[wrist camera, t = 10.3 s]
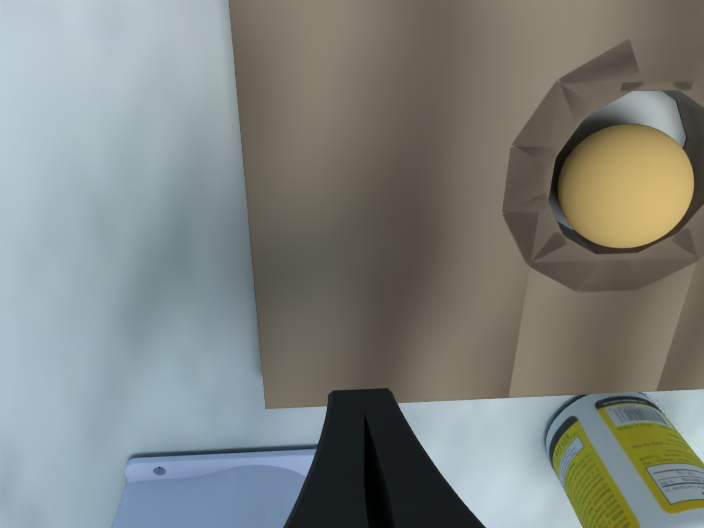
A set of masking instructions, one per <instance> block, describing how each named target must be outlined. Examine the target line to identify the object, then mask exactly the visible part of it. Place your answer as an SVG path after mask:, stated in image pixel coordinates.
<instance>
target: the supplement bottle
mask: <svg viewBox="0 0 704 528" xmlns="http://www.w3.org/2000/svg"><path fill="white" fill-rule="evenodd" d="M546 450H547V455H548V457H549V460H550V462H551V465H552V467H553V469H554V471H555V473H556V475H557V477H558V479H559V481H560V483H561V485H562V487H563V489H564V491H565V493H566V495H567V497H568V499H569V501H570V503H571V505H572V507H573V509H574V511H575V513H576V515H577V517H578V519H579V521H580V523H581V525H582V527H583V528H704V464H703V462H702V461H701V460H700V459H699V457H698V456H697V455H696V454H695V453H694V451H693V450H692V449H691V448H690V446H689V445H688V444H687V442H686V441H685V440H684V439H683V438H682V436H681V435H680V434H679V432H678V431H677V430H676V429H675V428H674V426H673V425H672V424H671V423H670V421H669V420H668V419H667V418H666V417H665V415H664V414H663V413H662V412H661V410H660V409H659V408H658V407H657V406H656V405H655V404H654V403H653V402H652V401H651V400H650V399H649V398H647V397H646V396H644V395H642V394H640V393H637V392H629V393H607V394H589V395H587V396H584V397H582V398H580V399H578V400H577V401H575V402H573V403H572V404H571V405H569V406H568V407H567V408H565V409H564V410H563V411H562V412H561V413H560V414H559V415H558V416H557V418H556V419H555V420H554V422H553V423H552V425H551V427H550V429H549V431H548V434H547V438H546Z"/></svg>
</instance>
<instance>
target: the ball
mask: <svg viewBox="0 0 704 528" xmlns="http://www.w3.org/2000/svg"><path fill="white" fill-rule="evenodd" d="M693 189H694V175H693V170H692V166H691V163H690V161H689V158H688V157H687V155H686V153H685V151H684V150H683V149H682V148H681V146H680V145H679V144H678V143H677V142H676V141H675V140H674V139H673V138H671V137H670V136H669V135H667V134H666V133H664V132H662V131H660V130H658V129H655V128H652V127H649V126H644V125H639V124H620V125H615V126H610V127H607V128H604V129H601V130H599V131H597V132H595V133H593V134H591V135H589V136H588V137H586V138H585V139H584V140H582V141H581V142H580V143H579V144H578V145H577V146H576V147H575V148H574V149H573V150H572V151H571V153H570V154H569V155H568V157H567V158H566V160H565V162H564V164H563V166H562V169H561V172H560V175H559V179H558V200H559V204H560V207H561V210H562V212H563V214H564V216H565V218H566V219H567V221H568V223H569V224H570V225H571V226H572V227H573V229H574V230H576V231H577V232H578V233H579V234H580V235H582V236H583V237H585V238H586V239H588V240H590V241H592V242H594V243H596V244H599V245H602V246H607V247H612V248H632V247H638V246H641V245H645V244H648V243H651V242H653V241H655V240H657V239H659V238H661V237H662V236H664V235H665V234H667V233H668V232H669V231H670V230H672V229H673V228H674V227H675V226H676V225H677V224H678V223H679V222H680V220H681V219H682V217H683V216H684V214H685V213H686V211H687V209H688V207H689V205H690V202H691V199H692V196H693Z"/></svg>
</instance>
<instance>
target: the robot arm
mask: <svg viewBox="0 0 704 528" xmlns="http://www.w3.org/2000/svg"><path fill="white" fill-rule="evenodd" d="M158 467H162V468H163V469H162V468H158ZM125 475H126V479H127V485H126V488H125V491H124V493H123V496H122V499H121V502H120V505H119V508H118V511H117V514H116V516H115V519H114V522H113V525H112V528H486V527H485V526H484V525H483V524H482V523H481V522H480V521H479V520H478V519H477V517H476V516H475V515H474V514H473V513H472V512H471V511H470V510H469V508H468V507H467V506H466V505H465V504H464V502H463V501H462V500H461V499H460V498H459V496H458V495H457V494H456V493H455V491H454V490H453V489H452V487H451V486H450V485H449V483H448V482H447V481H446V480H445V478H444V477H443V476H442V474H441V473H440V472H439V470H438V469H437V467H436V466H435V465H434V463H433V462H432V460H431V459H430V457H429V456H428V454H427V453H426V451H425V450H424V448H423V447H422V445H421V444H420V442H419V441H418V439H417V438H416V436H415V434H414V433H413V431H412V429H411V428H410V426H409V424H408V423H407V421H406V419H405V417H404V415H403V414H402V412H401V410H400V408H399V406H398V404H397V402H396V400H395V398H394V395H393V393H392V392H391V391H390V390H389V389H388V388H378V389H355V390H333V391H332V392H331V393H329V394H328V404H327V412H326V417H325V421H324V425H323V429H322V433H321V437H320V440H319V443H318V446H317V449H308V450H288V451H267V452H247V453H227V454H207V455H187V456H166V457H146V458H134V459H131V460H129V461H128V463H127V464H126V467H125Z"/></svg>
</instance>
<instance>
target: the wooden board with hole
mask: <svg viewBox="0 0 704 528" xmlns="http://www.w3.org/2000/svg"><path fill="white" fill-rule="evenodd" d="M229 8H230V19H231V31H232V42H233V53H234V64H235V75H236V86H237V97H238V108H239V119H240V130H241V142H242V153H243V164H244V175H245V186H246V197H247V208H248V219H249V230H250V241H251V252H252V264H253V275H254V286H255V297H256V308H257V319H258V330H259V341H260V352H261V363H262V375H263V386H264V397H265V408H266V409H274V408H296V407H318V406H327V404H328V394H329V393H331V392H332V391H333V390H355V389H378V388H388V389H389V390H390V391H391V392H392V393H393V395H394V398H395V400H396V402H397V403H407V402H429V401H452V400H474V399H496V398H518V397H540V396H562V395H585V394H607V393H629V392H651V391H673V390H695V389H704V0H229ZM631 91H663V92H665V93H666V94H668V95H669V96H670V97H672V98H673V99H675V100H676V102H677V105H678V108H679V112H680V115H681V119H682V122H683V126H684V129H685V132H686V136H687V139H686V142H685V146H684V151H685V153H686V155H687V157H688V158H689V161H690V163H691V166H692V170H693V175H694V189H693V196H692V199H691V202H690V205H689V207H688V209H687V211H686V213H685V214H684V216H683V217H682V219H681V220H680V222H679V223H678V224H677V225H676V226H675V227H674V228H673V229H672V230H670V231H669V232H668V233H667V234H665V235H664V236H662V237H661V238H659V239H657V240H655V241H653V242H651V243H648V244H645V245H641V246H638V247H632V248H612V247H607V246H602V245H599V244H596V243H594V242H592V241H590V240H588V239H586V238H585V237H583V236H582V235H580V234H579V233H578V232H577V231H576V230H571V229H569V228H567V227H565V226H564V225H562V224H560V223H559V222H557V220H556V218H555V215H554V213H553V211H552V208H551V206H550V204H549V202H548V200H549V194H550V188H551V182H552V176H553V170H554V165H555V159H556V156H557V155H558V154H559V152H560V151H561V150H562V148H563V147H564V145H565V144H566V143H567V141H568V140H569V139H570V137H571V136H572V135H573V133H574V132H575V131H576V129H577V128H578V127H579V125H580V124H581V123H582V121H583V120H584V119H585V117H586V116H588V115H589V114H591V113H593V112H595V111H597V110H598V109H600V108H602V107H604V106H606V105H608V104H609V103H611V102H613V101H615V100H617V99H618V98H620V97H622V96H624V95H626V94H628V93H629V92H631Z"/></svg>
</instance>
